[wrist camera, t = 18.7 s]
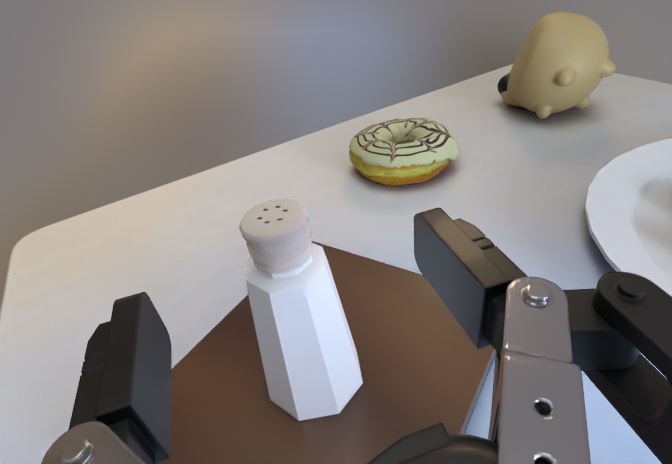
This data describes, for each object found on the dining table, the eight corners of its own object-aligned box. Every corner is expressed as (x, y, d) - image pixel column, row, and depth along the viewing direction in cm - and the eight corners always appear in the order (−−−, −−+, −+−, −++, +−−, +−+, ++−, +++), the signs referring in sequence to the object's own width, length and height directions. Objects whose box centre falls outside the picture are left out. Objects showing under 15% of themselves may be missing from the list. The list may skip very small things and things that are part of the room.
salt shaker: (351, 433, 21) (315, 264, 14) (251, 412, 22) (178, 252, 16) (373, 344, 25) (353, 181, 18) (287, 332, 26) (241, 178, 20)
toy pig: (570, 128, 54) (540, 56, 56) (648, 71, 42) (606, -17, 44) (501, 143, 52) (473, 68, 54) (562, 89, 41) (523, -3, 43)
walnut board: (345, 730, 14) (340, 726, 13) (87, 478, 22) (72, 465, 21) (510, 318, 27) (512, 302, 26) (307, 252, 35) (304, 238, 34)
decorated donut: (478, 167, 42) (481, 131, 40) (388, 205, 39) (386, 168, 37) (415, 134, 50) (414, 103, 48) (335, 163, 47) (331, 131, 44)
